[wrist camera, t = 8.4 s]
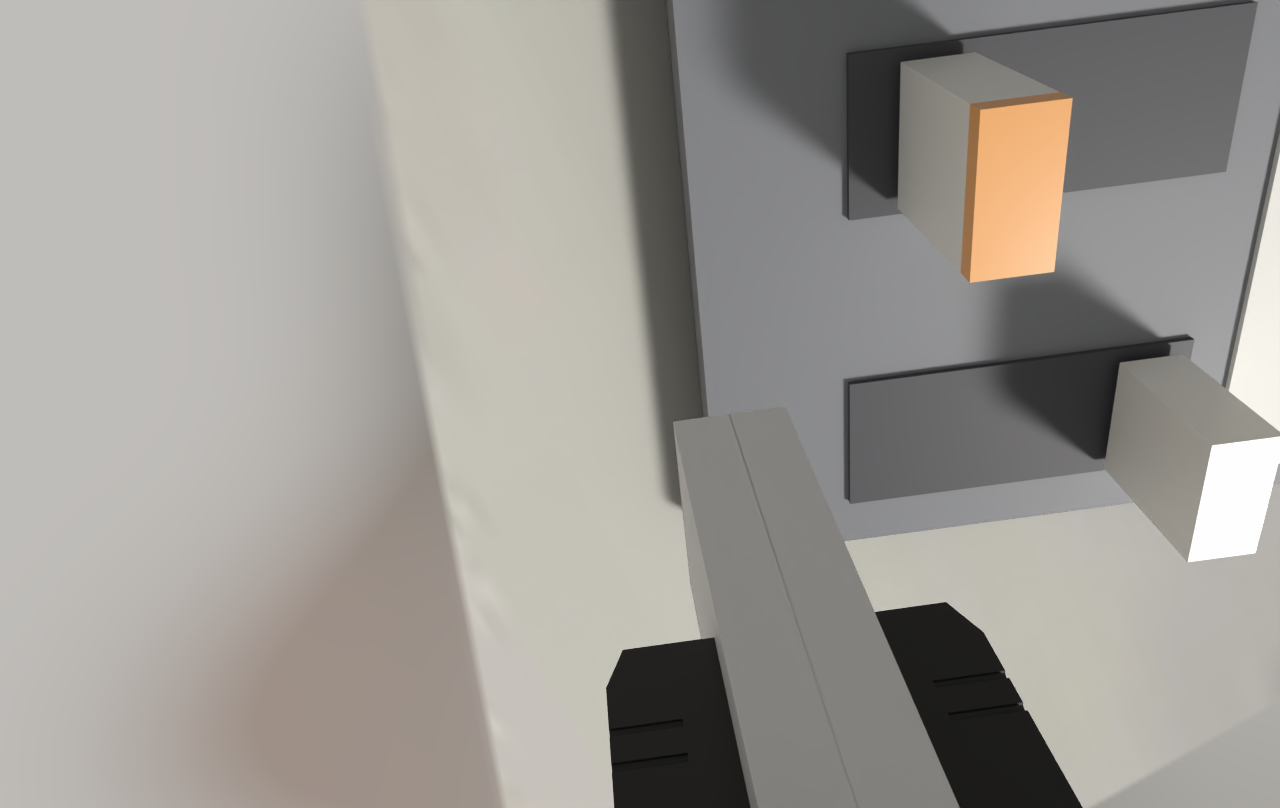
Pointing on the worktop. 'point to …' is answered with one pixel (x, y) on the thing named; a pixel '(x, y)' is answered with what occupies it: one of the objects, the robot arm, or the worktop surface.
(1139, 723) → the worktop surface
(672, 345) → the worktop surface
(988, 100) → the handle
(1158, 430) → the cream rectangular block
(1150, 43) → the breaker panel
